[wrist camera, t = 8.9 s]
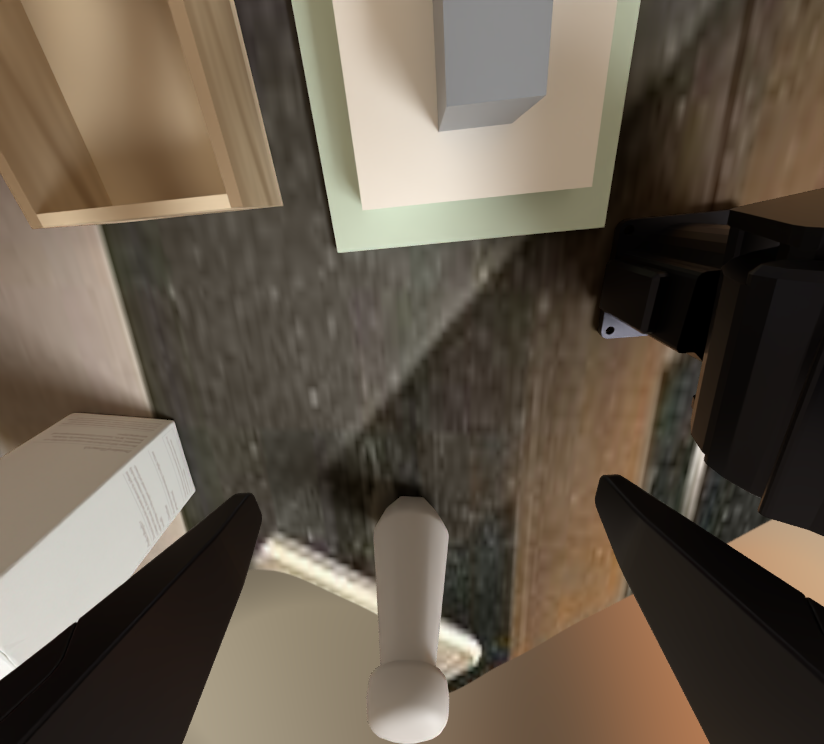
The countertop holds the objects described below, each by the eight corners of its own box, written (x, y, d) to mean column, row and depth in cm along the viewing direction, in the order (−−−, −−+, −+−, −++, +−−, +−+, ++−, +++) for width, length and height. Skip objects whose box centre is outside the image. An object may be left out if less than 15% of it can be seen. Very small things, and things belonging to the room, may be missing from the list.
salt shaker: (455, 496, 27) (485, 720, 15) (433, 540, 29) (445, 761, 18) (385, 481, 26) (361, 703, 14) (369, 528, 29) (338, 749, 17)
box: (222, -47, 13) (137, -157, 9) (283, 205, 17) (243, 206, 13) (10, -17, 14) (-160, -108, 10) (119, 223, 18) (32, 228, 14)
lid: (610, -141, 12) (775, -433, 6) (572, 188, 16) (649, 181, 11) (325, -98, 12) (256, -334, 7) (368, 209, 17) (345, 212, 11)
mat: (668, -225, 11) (679, -243, 11) (599, 226, 17) (604, 227, 17) (265, -159, 12) (259, -173, 11) (339, 251, 18) (337, 252, 18)
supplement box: (70, 409, 23) (-253, 603, 12) (178, 418, 24) (-41, 616, 12) (104, 485, 27) (-123, 692, 15) (198, 492, 27) (42, 701, 16)
